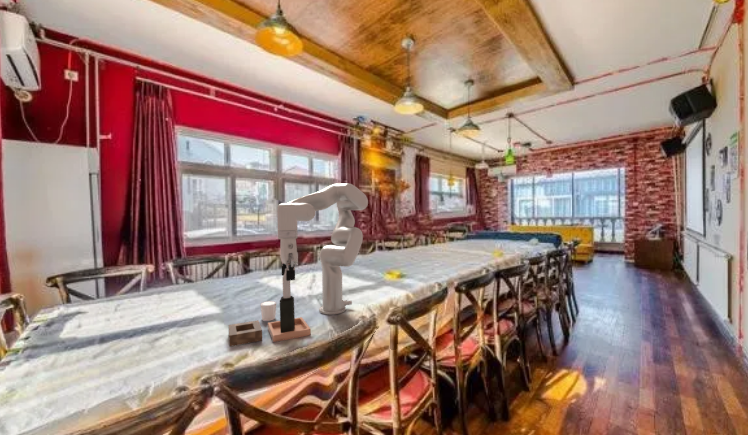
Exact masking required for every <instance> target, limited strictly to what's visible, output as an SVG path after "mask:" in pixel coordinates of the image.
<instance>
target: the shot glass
mask: <svg viewBox="0 0 748 435" xmlns="http://www.w3.org/2000/svg"><path fill="white" fill-rule="evenodd" d="M276 311H277V301H274V300H267V301H263V302H261V303H260V313H261V320H262V321H264V322H270V321H273V320H275V319H276V314H277V312H276Z"/></svg>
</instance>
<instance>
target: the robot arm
mask: <svg viewBox="0 0 748 435" xmlns="http://www.w3.org/2000/svg"><path fill="white" fill-rule="evenodd" d="M334 204H336V207H337V210H338V220H337V221H336V224H335V226H334V228H333V231H332V233H331V236H330V241H331V243H332V244H327V245H324V246H323V247H322V248H321V249H320V252H319V259H320V263H321V273H322V274H321V275H322V284H321V286H322V287H321V288H322V290H321V292H322V293H321V295H322V296H321V297H322V301H321V302H322V303H321V304H322V306H320V307H319V308H318V311H319V313H321V314H323V315H331V316H332V315H334V316H335V315H340V314H343V313H344V312H345V311H346V310H347V309H346V306H351V305H352V304H353V302H352V300H348V299H345V300H344V299H343V272H342V269H341V267H344V268H345V267H346V268H347V267H352V265H354V263H355V261H356V260H357V256H358V254H359V252H360V250H361V246H362V243H363V238H364V235H363V234H364V233H363V232H362V230H361V229H360V228H359V227H356V226H355V223H356V221H355V220H356V219H355V217H354V215H353V213H352V211H363V210H365V209H367V207H368V204H369V200H368V197H367V195H366V194H365V193H364V192H363V191H362V190H361V189H359V188H358V187H357V186H356V185H354V184H352V183H348V182H345V183H333V184H330V185H328V186H326V187H325V188H323V189H321V190H318V191H316V192H313V193H310V194H307V195H303V196H300V197H298V198H296V199H293V200H291V201H289V202H287V203H279V204H278V205H277V239H278V240H280V247H279V248H280V251H279V252H280V261H281V276H282V277H283V276H284V273H285V269H286V268H287V270H286V280H287V281H290V282H291V281H295V280H296V266H295V265H297V264H298V249H297V248H298V247H297V239H298V222H310V221H311V220H313V219H314V218H315V217H316V212H318V211H323V210H326V209H328V208H330V207H332V206H333V205H334Z"/></svg>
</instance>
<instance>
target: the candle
mask: <svg viewBox="0 0 748 435" xmlns="http://www.w3.org/2000/svg"><path fill="white" fill-rule="evenodd" d="M286 270H287V268H286V269H285V273H284V276H282V296H281V297H280V299H279V321H280V329H281V333H285V332H290V331H294V329H295V317H296V316H295V297H294V296H293V295H292V294H291V281H287V280H286Z"/></svg>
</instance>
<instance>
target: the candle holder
mask: <svg viewBox="0 0 748 435" xmlns="http://www.w3.org/2000/svg"><path fill="white" fill-rule="evenodd" d="M261 341H262V342H263V329H262V326H261V324H260V320H259V319H258V320H252V321H246V322H239V323H238V322H237V323H233V324H228V342H229V347H235V345H236V346H240V345H247V344H251V343H257V342H261Z"/></svg>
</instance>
